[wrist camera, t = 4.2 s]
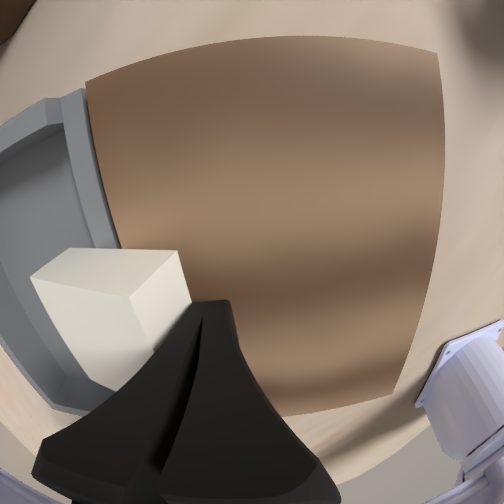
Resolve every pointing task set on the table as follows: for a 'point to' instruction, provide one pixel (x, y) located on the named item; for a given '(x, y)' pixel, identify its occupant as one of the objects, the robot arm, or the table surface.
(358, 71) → the board
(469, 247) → the table surface
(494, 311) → the table surface
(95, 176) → the box
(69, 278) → the block
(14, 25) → the beer bottle
